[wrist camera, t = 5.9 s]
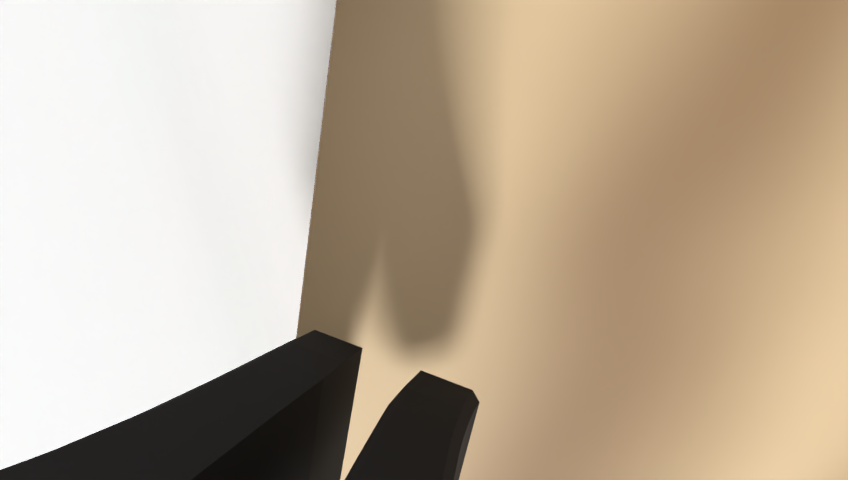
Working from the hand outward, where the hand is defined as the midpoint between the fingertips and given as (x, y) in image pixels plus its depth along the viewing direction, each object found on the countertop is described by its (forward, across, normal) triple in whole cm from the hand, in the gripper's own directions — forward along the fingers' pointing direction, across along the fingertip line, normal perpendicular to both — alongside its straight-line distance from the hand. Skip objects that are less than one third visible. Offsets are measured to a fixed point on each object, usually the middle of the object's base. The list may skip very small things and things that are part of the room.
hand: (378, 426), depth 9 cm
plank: (+4, -2, 0) cm, 5 cm away
